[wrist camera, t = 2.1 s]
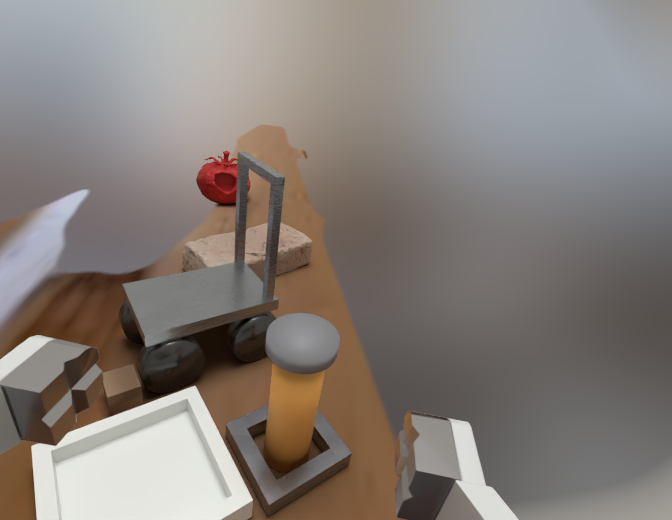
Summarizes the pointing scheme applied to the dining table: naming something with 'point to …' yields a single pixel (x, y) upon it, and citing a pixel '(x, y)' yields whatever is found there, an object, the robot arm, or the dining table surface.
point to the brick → (249, 250)
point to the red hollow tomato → (219, 180)
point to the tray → (142, 467)
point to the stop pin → (296, 385)
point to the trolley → (206, 300)
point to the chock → (122, 389)
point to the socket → (296, 481)
